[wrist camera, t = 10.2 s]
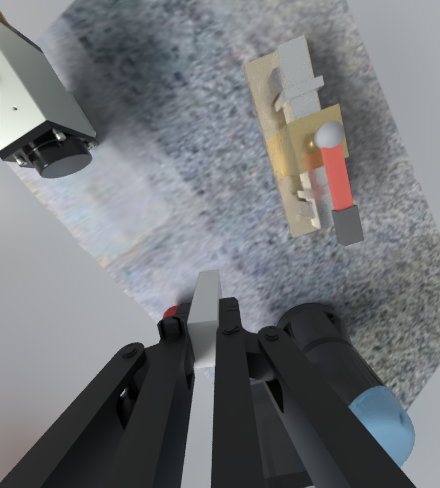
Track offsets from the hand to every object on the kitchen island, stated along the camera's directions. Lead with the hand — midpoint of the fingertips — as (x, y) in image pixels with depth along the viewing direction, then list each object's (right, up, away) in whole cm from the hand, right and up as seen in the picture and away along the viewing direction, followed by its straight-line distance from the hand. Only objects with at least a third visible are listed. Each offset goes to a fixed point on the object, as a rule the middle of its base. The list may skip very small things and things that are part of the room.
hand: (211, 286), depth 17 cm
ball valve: (-24, +24, +21) cm, 40 cm away
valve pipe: (+14, +20, +22) cm, 33 cm away
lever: (+16, +11, +12) cm, 23 cm away
